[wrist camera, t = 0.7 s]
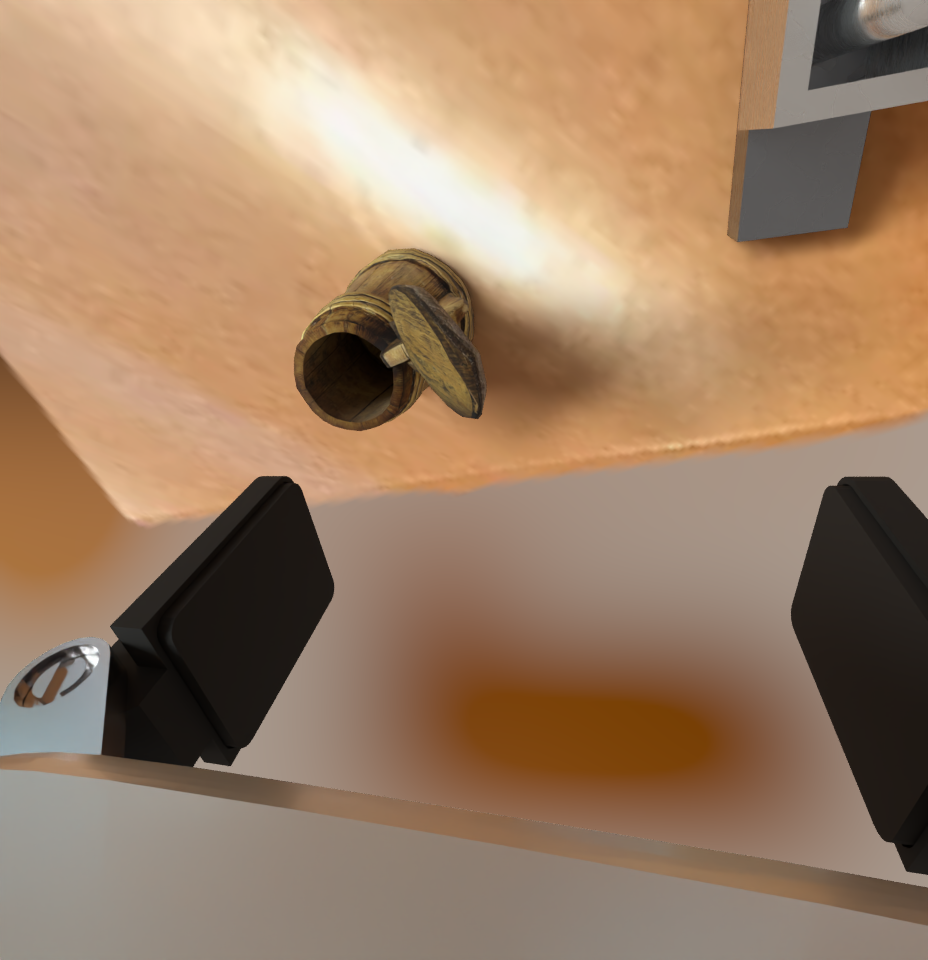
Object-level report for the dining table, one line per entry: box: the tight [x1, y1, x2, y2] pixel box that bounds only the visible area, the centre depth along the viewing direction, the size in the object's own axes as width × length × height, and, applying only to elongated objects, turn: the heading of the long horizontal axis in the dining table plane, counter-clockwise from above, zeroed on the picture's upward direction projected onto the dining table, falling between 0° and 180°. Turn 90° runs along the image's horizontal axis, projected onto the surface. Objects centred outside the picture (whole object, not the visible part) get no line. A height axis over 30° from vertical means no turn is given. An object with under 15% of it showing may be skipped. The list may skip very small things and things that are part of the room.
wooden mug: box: [294, 248, 486, 431], centre depth 27 cm, size 9×14×18 cm, turn 118°
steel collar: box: [737, 0, 928, 131], centre depth 20 cm, size 6×6×6 cm
